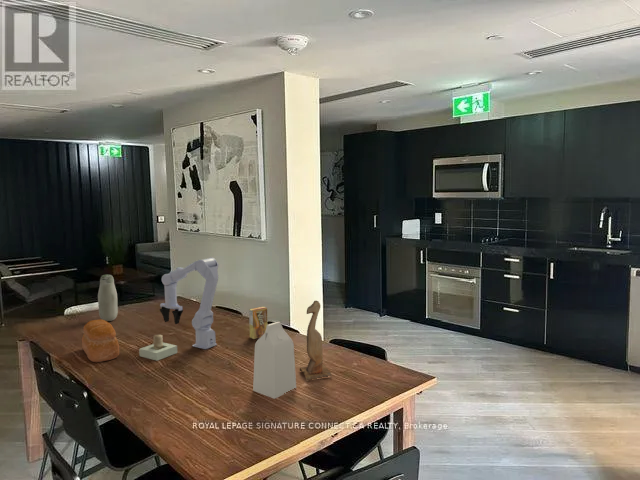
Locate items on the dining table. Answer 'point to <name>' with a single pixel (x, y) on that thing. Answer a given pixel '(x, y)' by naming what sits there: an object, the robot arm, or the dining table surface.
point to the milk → (274, 362)
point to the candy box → (257, 322)
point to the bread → (100, 341)
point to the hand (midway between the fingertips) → (171, 322)
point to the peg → (158, 342)
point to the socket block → (158, 351)
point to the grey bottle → (107, 298)
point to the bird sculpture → (314, 348)
